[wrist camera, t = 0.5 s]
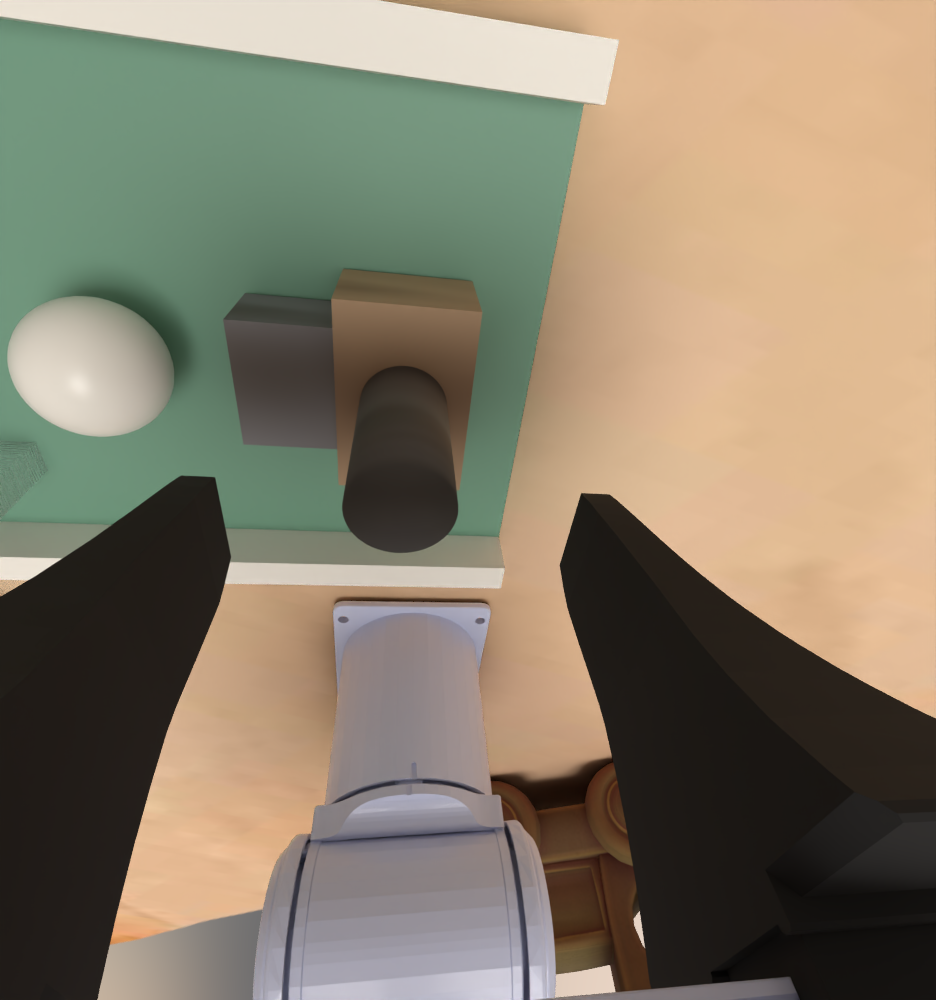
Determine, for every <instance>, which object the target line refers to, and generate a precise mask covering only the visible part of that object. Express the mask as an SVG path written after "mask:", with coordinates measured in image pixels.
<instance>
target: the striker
mask: <svg viewBox="0 0 936 1000" xmlns="http://www.w3.org/2000/svg"><path fill="white" fill-rule="evenodd" d="M481 319H482V309H481V306H480V303H479V300H478V297H477V294H476V291H475V288H474V285H473V282H472V281H465V280H455V279H444V278H434V277H424V276H413V275H403V274H393V273H382V272H372V271H362V270H351V269H343V270H342V273H341V275H340V278H339V280H338V283H337V285H336V288H335V291H334V293H333V296H332V298H331V301H327V300H316V299H305V298H293V297H282V296H271V295H259V294H248V293H245V294H244V295H243V296H242V297H241V298H240V300H239V301H238V302H237V303H236V304H235V306H234V307H233V308H232V309H231V310H230V312H229V313H228V314H227V315H226V316H225V318H224V319H223V322H224V329H225V335H226V341H227V347H228V353H229V359H230V365H231V372H232V378H233V384H234V390H235V396H236V402H237V408H238V415H239V421H240V427H241V433H242V439H243V445H261V446H280V447H300V448H319V449H337V456H338V481H339V485H345V490H344V496H343V501H342V512H343V517H344V520H345V522H346V525H347V526H348V528H349V529H350V531H351V532H352V533H353V534H354V535H355V536H356V537H357V538H358V539H359V540H361V541H362V542H364V543H365V544H367V545H369V546H371V547H373V548H376V549H378V550H382V551H386V552H392V553H409V552H415V551H420V550H423V549H426V548H428V547H431V546H433V545H435V544H436V543H438V542H439V541H441V540H442V539H443V538H444V537H445V536H447V535H448V533H449V532H450V531H451V530H452V528H453V526H454V525H455V522H456V520H457V516H458V498H457V490H460V482H461V474H462V467H463V459H464V451H465V443H466V436H467V428H468V420H469V412H470V404H471V397H472V389H473V381H474V373H475V366H476V358H477V350H478V342H479V335H480V327H481Z"/></svg>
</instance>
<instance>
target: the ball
mask: <svg viewBox="0 0 936 1000" xmlns="http://www.w3.org/2000/svg"><path fill="white" fill-rule="evenodd" d="M7 362H8V368H9V373H10V376H11V379H12V381H13V384H14V386H15V388H16V390H17V391H18V393H19V394H20V396H21V397H22V398H23V400H24V401H25V402H26V403H27V404H28V405H29V406H30V407H31V408H32V409H33V410H34V411H35V412H36V413H37V414H38V415H40V416H41V417H43V418H44V419H45V420H47V421H49V422H50V423H52V424H54V425H56V426H58V427H60V428H62V429H65V430H68V431H70V432H74V433H77V434H81V435H87V436H97V437H109V436H117V435H123V434H127V433H130V432H133V431H135V430H138V429H140V428H142V427H144V426H145V425H147V424H149V423H150V422H151V421H153V420H154V419H155V418H156V417H157V416H158V415H159V414H160V413H161V412H162V411H163V409H164V408H165V406H166V405H167V403H168V401H169V399H170V397H171V394H172V390H173V386H174V366H173V361H172V358H171V355H170V352H169V350H168V348H167V346H166V344H165V342H164V341H163V339H162V337H161V336H160V335H159V333H158V332H157V331H156V330H155V329H154V328H153V327H152V325H150V324H149V323H148V322H147V321H146V320H145V319H144V318H142V317H141V316H140V315H138V314H137V313H135V312H134V311H132V310H130V309H128V308H126V307H124V306H122V305H120V304H117V303H115V302H112V301H109V300H105V299H102V298H97V297H89V296H70V297H62V298H58V299H54V300H51V301H48V302H46V303H44V304H41V305H39V306H37V307H36V308H34V309H33V310H31V311H30V312H29V313H27V314H26V315H25V316H24V317H23V318H22V319H21V320H20V322H19V323H18V324H17V326H16V327H15V329H14V331H13V333H12V336H11V338H10V341H9V344H8V351H7Z"/></svg>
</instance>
